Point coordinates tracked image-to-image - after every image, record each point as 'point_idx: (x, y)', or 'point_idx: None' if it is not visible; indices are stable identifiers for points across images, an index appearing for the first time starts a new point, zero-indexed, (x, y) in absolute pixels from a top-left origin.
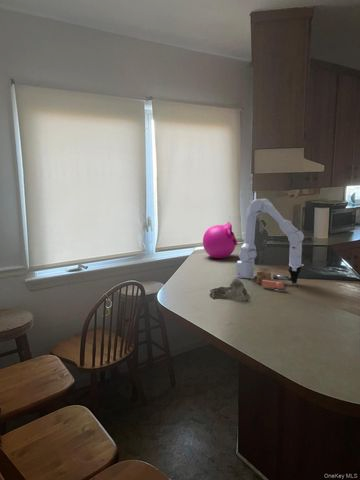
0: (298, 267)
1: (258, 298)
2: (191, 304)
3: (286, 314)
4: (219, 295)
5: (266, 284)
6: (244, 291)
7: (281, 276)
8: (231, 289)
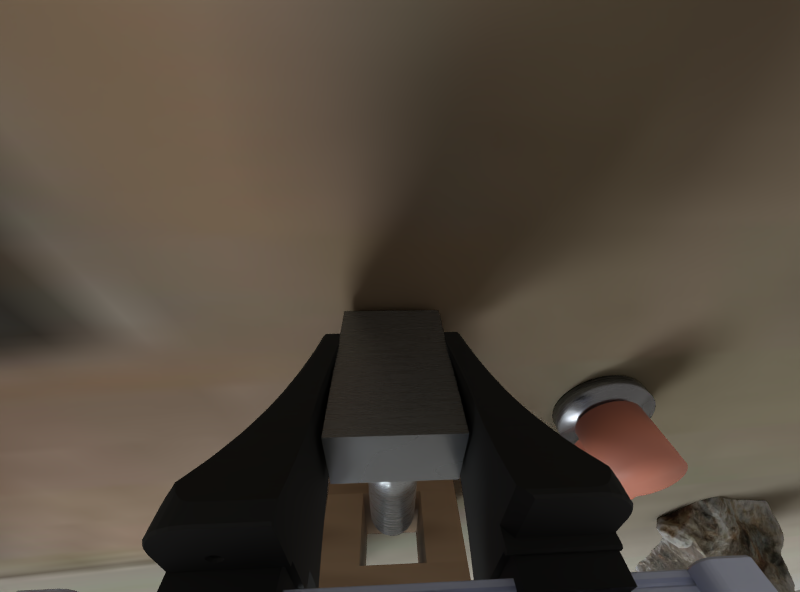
0: (286, 544)
1: (757, 469)
2: None
3: None
4: None
5: None
6: (755, 550)
7: (409, 490)
8: None
